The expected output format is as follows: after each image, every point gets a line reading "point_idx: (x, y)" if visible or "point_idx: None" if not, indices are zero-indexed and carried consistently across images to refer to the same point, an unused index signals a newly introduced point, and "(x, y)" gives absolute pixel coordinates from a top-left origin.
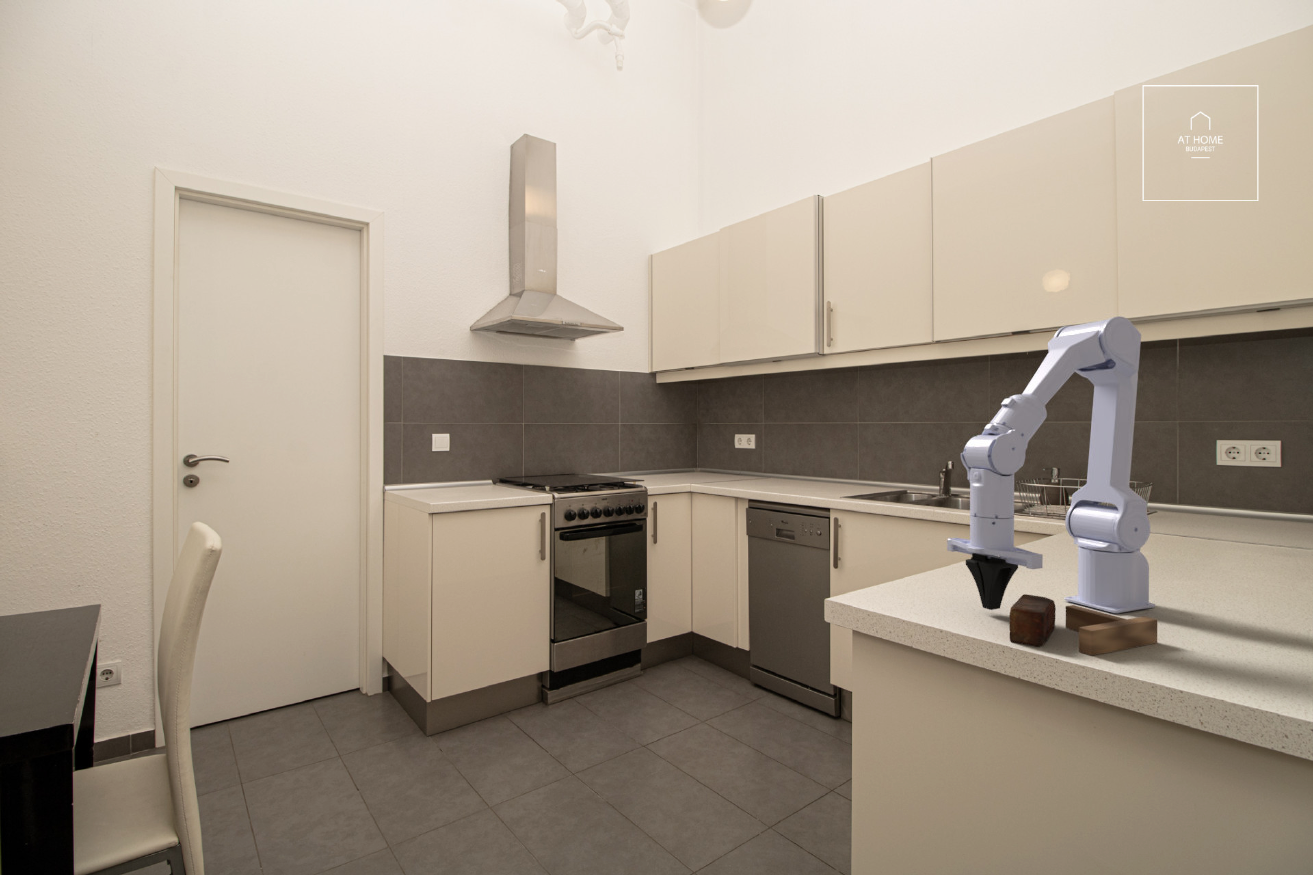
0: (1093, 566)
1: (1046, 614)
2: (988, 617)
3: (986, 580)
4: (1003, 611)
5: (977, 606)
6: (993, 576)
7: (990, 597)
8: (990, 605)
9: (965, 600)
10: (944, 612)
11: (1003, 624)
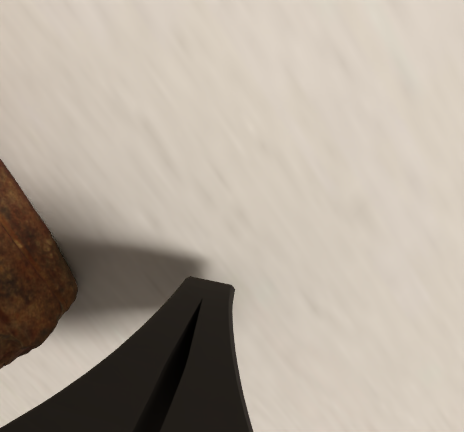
0: None
1: None
2: (197, 243)
3: (117, 398)
4: None
5: (330, 353)
6: (9, 423)
7: (154, 314)
8: (177, 289)
9: (418, 396)
10: (386, 142)
11: (93, 197)
